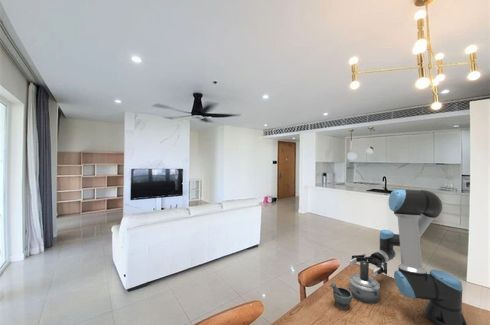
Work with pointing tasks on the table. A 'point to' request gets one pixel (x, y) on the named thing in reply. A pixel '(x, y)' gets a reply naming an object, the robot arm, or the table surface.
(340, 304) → the mortar and pestle
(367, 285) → the steel lid
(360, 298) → the cooker pot
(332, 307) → the table surface
